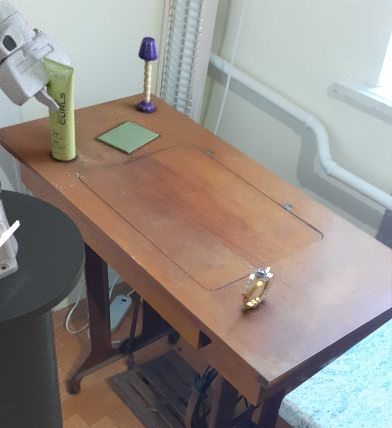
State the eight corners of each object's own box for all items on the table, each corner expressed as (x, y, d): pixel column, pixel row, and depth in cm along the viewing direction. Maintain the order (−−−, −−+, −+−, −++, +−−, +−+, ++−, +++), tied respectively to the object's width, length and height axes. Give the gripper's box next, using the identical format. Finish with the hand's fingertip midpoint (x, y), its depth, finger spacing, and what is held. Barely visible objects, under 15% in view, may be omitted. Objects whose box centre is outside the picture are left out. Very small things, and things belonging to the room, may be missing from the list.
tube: (49, 161, 116) (42, 65, 102) (49, 149, 119) (43, 55, 105) (76, 162, 117) (73, 67, 103) (75, 150, 121) (72, 57, 106)
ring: (259, 293, 96) (270, 258, 91) (272, 303, 95) (284, 268, 89) (232, 308, 93) (240, 272, 87) (244, 319, 91) (254, 284, 86)
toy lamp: (152, 114, 137) (157, 43, 125) (134, 111, 137) (137, 40, 124) (155, 106, 140) (160, 36, 128) (137, 103, 140) (141, 33, 128)
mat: (128, 153, 123) (128, 152, 122) (97, 139, 125) (97, 137, 125) (158, 135, 130) (158, 134, 130) (128, 122, 133) (128, 121, 132)
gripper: (28, 35, 112) (74, 94, 119) (-24, 69, 99) (31, 133, 105) (47, 16, 109) (93, 77, 115) (-5, 48, 95) (51, 116, 101)
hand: (63, 104), depth 110 cm, fingers closed on tube, 4 cm apart
